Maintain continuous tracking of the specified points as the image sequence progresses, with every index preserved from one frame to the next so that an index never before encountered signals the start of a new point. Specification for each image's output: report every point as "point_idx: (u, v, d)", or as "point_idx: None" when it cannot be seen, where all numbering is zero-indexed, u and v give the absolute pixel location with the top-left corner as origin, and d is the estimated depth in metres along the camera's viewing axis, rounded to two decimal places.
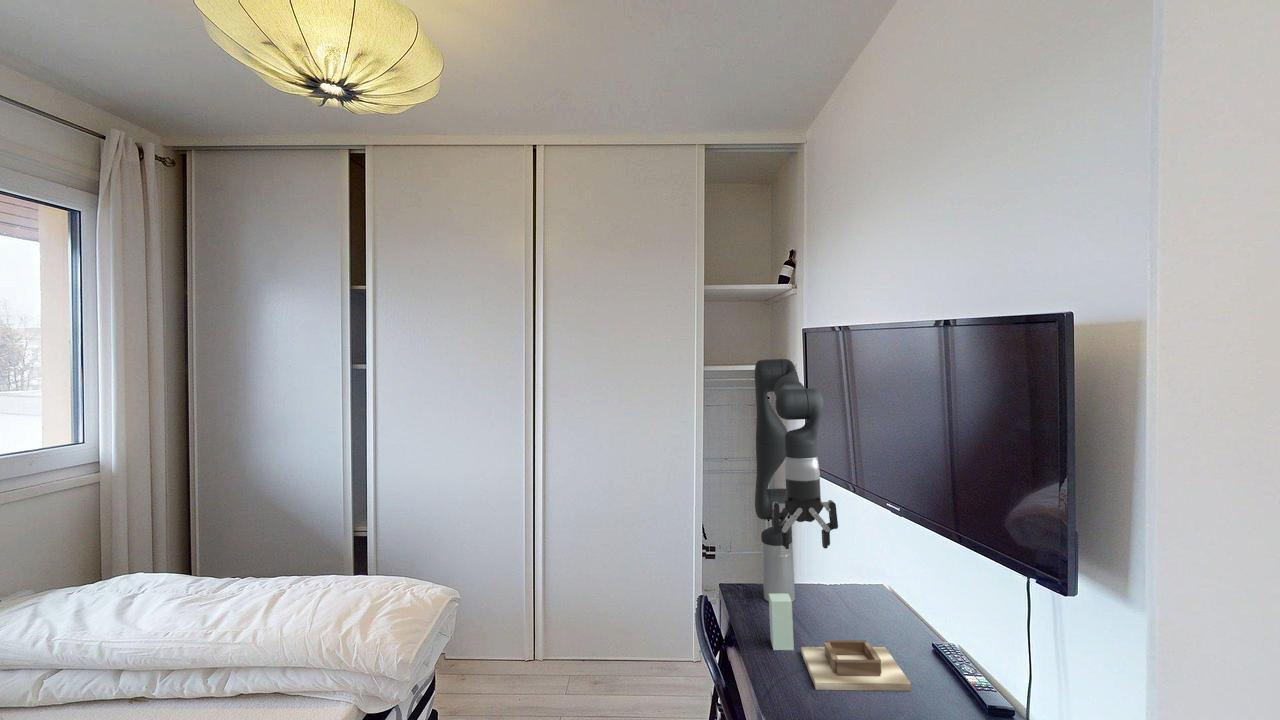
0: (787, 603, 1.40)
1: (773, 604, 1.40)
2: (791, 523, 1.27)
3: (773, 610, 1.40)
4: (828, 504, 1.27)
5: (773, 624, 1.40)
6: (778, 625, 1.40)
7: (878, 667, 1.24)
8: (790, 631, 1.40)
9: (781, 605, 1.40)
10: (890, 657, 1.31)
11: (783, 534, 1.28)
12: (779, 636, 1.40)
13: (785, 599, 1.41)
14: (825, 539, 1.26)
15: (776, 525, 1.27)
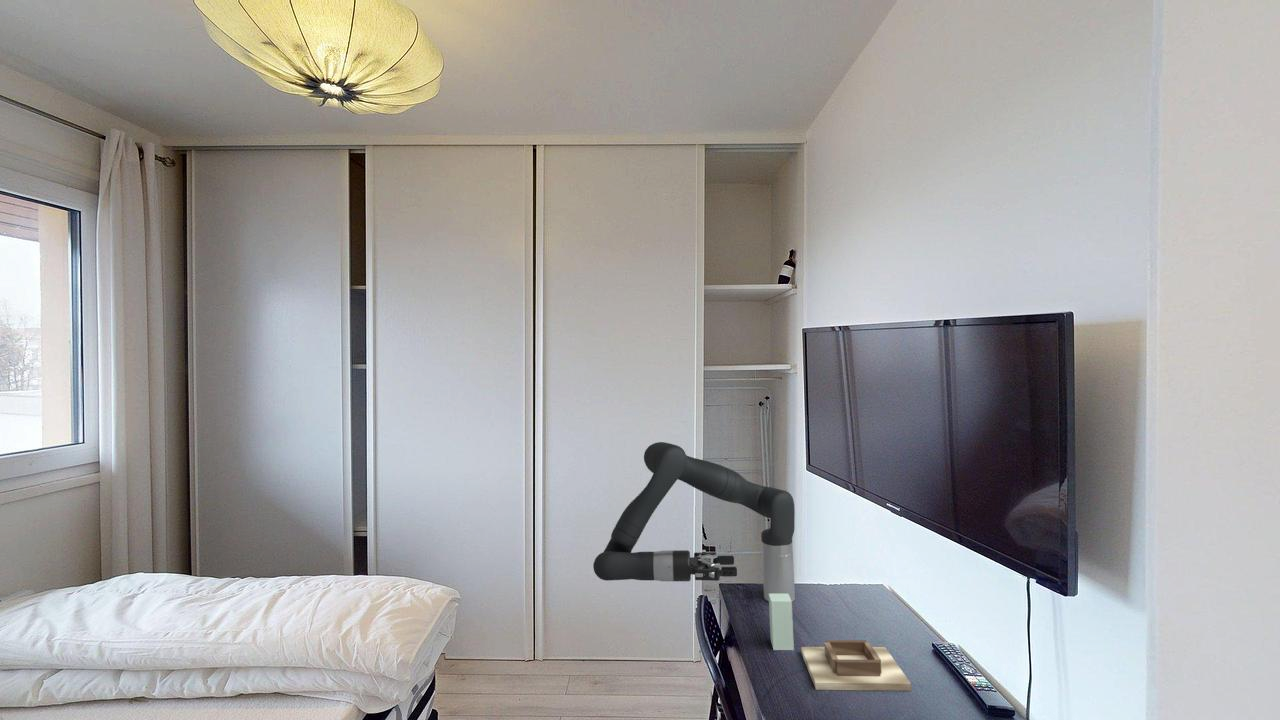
0: (787, 603, 1.40)
1: (773, 604, 1.40)
2: None
3: (773, 610, 1.40)
4: None
5: (773, 624, 1.40)
6: (778, 625, 1.40)
7: (878, 667, 1.24)
8: (790, 631, 1.40)
9: (781, 605, 1.40)
10: (890, 657, 1.31)
11: None
12: (779, 636, 1.40)
13: (785, 599, 1.41)
14: None
15: None
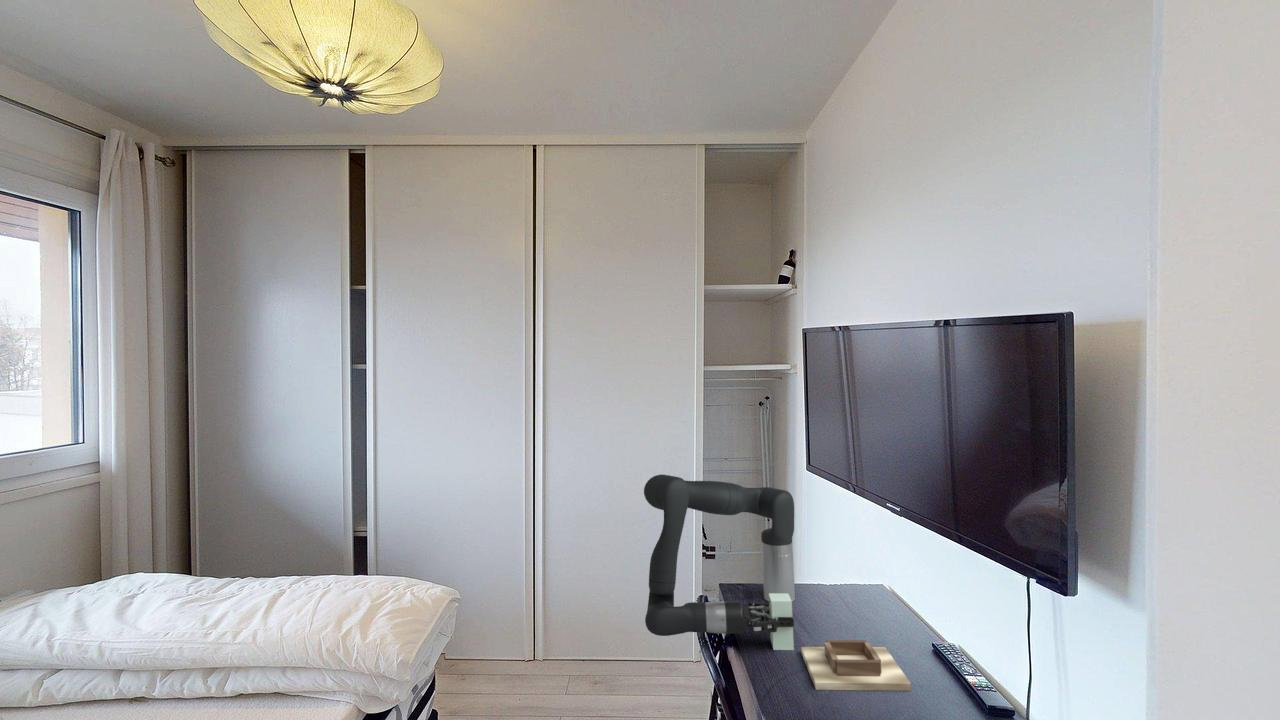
0: (787, 603, 1.40)
1: (773, 604, 1.40)
2: None
3: (773, 610, 1.40)
4: None
5: None
6: None
7: (878, 667, 1.24)
8: (790, 631, 1.40)
9: (781, 605, 1.40)
10: (890, 657, 1.31)
11: None
12: (779, 636, 1.40)
13: (785, 599, 1.41)
14: None
15: None
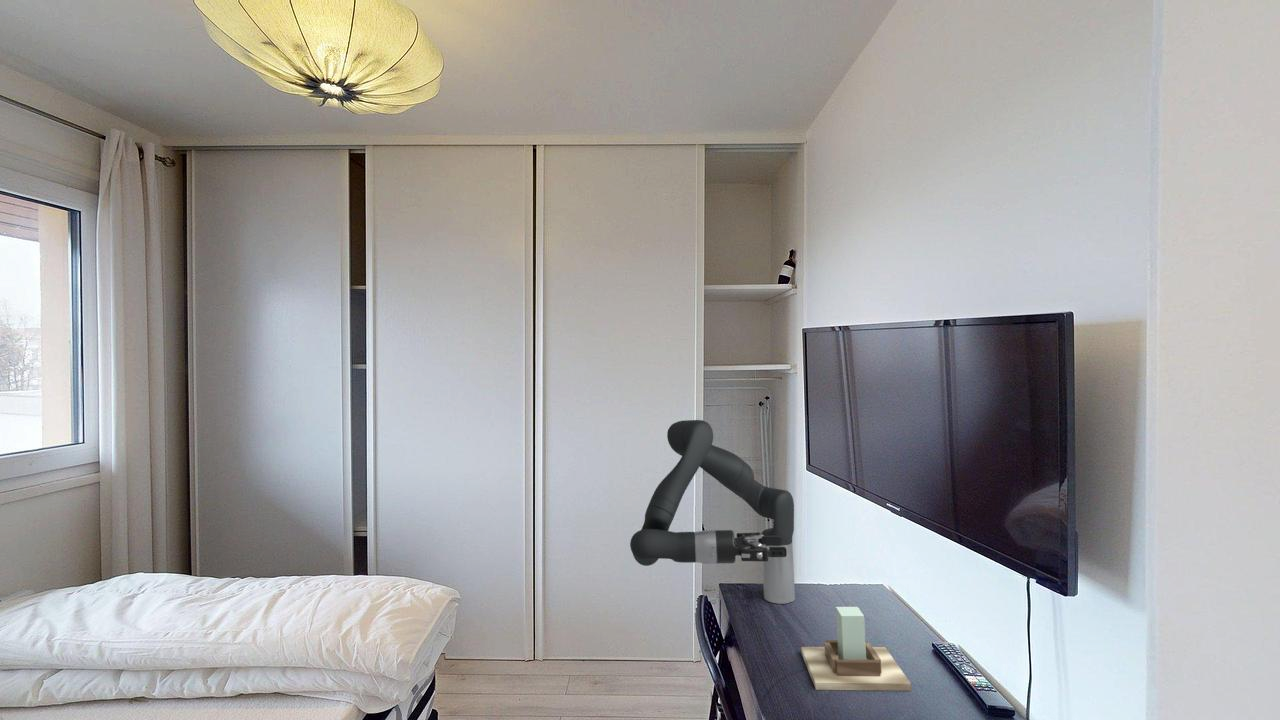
0: (859, 618, 1.27)
1: (843, 619, 1.27)
2: None
3: (843, 626, 1.27)
4: None
5: (843, 641, 1.27)
6: (849, 642, 1.27)
7: (878, 667, 1.24)
8: (862, 649, 1.27)
9: (852, 621, 1.27)
10: (890, 657, 1.31)
11: None
12: (851, 654, 1.27)
13: (856, 613, 1.28)
14: None
15: None
